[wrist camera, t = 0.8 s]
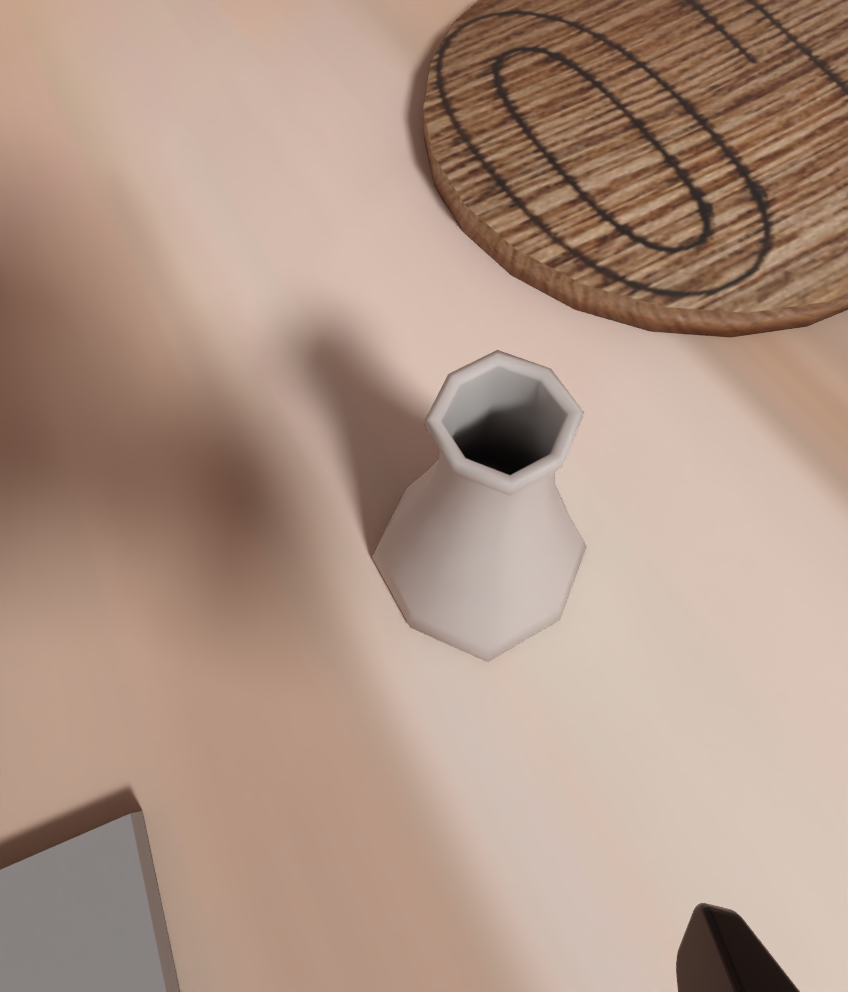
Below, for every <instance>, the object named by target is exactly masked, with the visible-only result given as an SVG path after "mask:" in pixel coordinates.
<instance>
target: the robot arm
mask: <svg viewBox="0 0 848 992" xmlns="http://www.w3.org/2000/svg"><path fill="white" fill-rule="evenodd" d="M676 974H677V985H678V992H800V991H799V990H798V989H797V987H796V986H795V985H794V984H793V982H792V981H791V980H790V978H789V977H788V976H787V975H786V973H785V972H784V971H783V969H782V968H781V967H780V966H779V964H778V963H777V962H776V961H775V959H774V958H773V957H772V955H771V954H770V953H769V952H768V950H767V949H766V948H765V946H764V945H763V944H762V943H761V941H760V940H759V939H758V938H757V936H756V935H755V934H754V932H753V931H752V930H751V929H750V927H749V926H748V925H747V923H746V922H745V921H744V920H743V919H742V917H741V916H740V915H738V914H737V913H736V912H735V911H733V910H730V909H726V908H722V907H718V906H714V905H710V904H706V903H700V904H698V905H697V906H696V907H695V909H694V911H693V913H692V916H691V919H690V921H689V924H688V926H687V929H686V931H685V934H684V937H683V939H682V942H681V944H680V947H679V950H678V954H677V962H676Z"/></svg>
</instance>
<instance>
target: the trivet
mask: <svg viewBox="0 0 848 992" xmlns="http://www.w3.org/2000/svg"><path fill="white" fill-rule="evenodd" d="M423 116H424V140H425V144H426V149H427V154H428V158H429V163H430V167H431V172H432V177H433V181H434V185H435V187H436V189H437V190H438V192H439V193H440V195H441V197H442V198H443V200H444V202H445V203H446V205H447V206H448V208H449V210H450V211H451V213H452V215H453V216H454V218H455V219H456V221H457V223H458V224H459V226H460V228H461V229H462V231H463V232H464V233H465V234H466V235H467V236H468V237H469V238H470V239H471V240H473V241H474V242H475V243H476V244H477V245H478V246H479V247H480V248H481V249H483V250H484V251H485V252H486V253H487V254H488V255H489V256H490V257H491V258H493V259H494V260H495V261H496V262H497V263H498V264H499V265H500V266H501V267H502V268H504V269H505V270H506V271H507V272H508V273H509V274H510V275H512V276H513V277H515V278H517V279H519V280H521V281H523V282H525V283H526V284H528V285H530V286H532V287H534V288H536V289H538V290H539V291H541V292H543V293H545V294H547V295H549V296H551V297H552V298H554V299H556V300H558V301H560V302H562V303H564V304H565V305H567V306H569V307H571V308H573V309H575V310H578V311H581V312H585V313H588V314H592V315H595V316H599V317H602V318H606V319H609V320H613V321H616V322H620V323H623V324H627V325H630V326H634V327H637V328H641V329H644V330H648V331H652V332H666V333H679V334H692V335H706V336H719V337H737V336H744V335H751V334H758V333H765V332H772V331H779V330H786V329H793V328H800V327H807V326H809V325H812V324H814V323H816V322H819V321H821V320H824V319H826V318H829V317H831V316H834V315H836V314H838V313H841V312H843V311H846V310H848V0H478V1H477V2H476V3H475V4H474V5H473V6H472V7H471V8H470V9H468V10H467V11H466V12H465V13H464V14H463V15H462V16H461V17H460V18H459V19H457V20H456V21H455V22H454V23H453V25H452V27H451V28H450V30H449V32H448V34H447V35H446V37H445V39H444V40H443V42H442V44H441V45H440V47H439V49H438V51H437V52H436V54H435V56H434V57H433V59H432V61H431V63H430V70H429V76H428V82H427V88H426V94H425V100H424V106H423Z"/></svg>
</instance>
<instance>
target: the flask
mask: <svg viewBox="0 0 848 992" xmlns="http://www.w3.org/2000/svg"><path fill="white" fill-rule="evenodd" d="M583 414H584V411H583V410H582V409H581V408H580V406H579V405H578V404H577V402H576V401H575V400H574V398H573V397H572V396H571V394H570V393H569V392H568V390H567V389H566V388H565V386H564V385H563V384H562V383H561V381H560V380H559V379H558V377H557V376H556V375H555V373H554V372H553V371H552V369H550V368H547V367H545V366H542V365H539V364H536V363H533V362H530V361H527V360H524V359H522V358H519V357H516V356H513V355H510V354H507V353H504V352H501V351H499V350H497V351H494V352H492V353H490V354H488V355H486V356H484V357H482V358H480V359H478V360H476V361H474V362H472V363H470V364H468V365H466V366H464V367H462V368H460V369H458V370H456V371H454V372H452V373H450V374H448V376H447V378H446V380H445V382H444V384H443V386H442V388H441V390H440V392H439V394H438V396H437V398H436V400H435V402H434V404H433V406H432V408H431V410H430V412H429V414H428V415H427V417H426V419H425V427H426V429H427V431H428V432H429V434H430V435H431V437H432V438H433V440H434V442H435V443H436V445H437V446H438V448H439V459H438V460H437V461H436V462H435V463H434V464H433V465H432V466H431V467H430V468H429V469H428V470H427V471H426V472H425V473H424V474H423V475H422V476H420V477H419V478H418V479H417V480H415V481H414V482H413V483H412V484H411V485H410V486H409V487H408V488H407V489H406V490H405V491H404V493H403V495H402V497H401V500H400V502H399V504H398V506H397V508H396V510H395V512H394V514H393V516H392V518H391V520H390V522H389V524H388V526H387V528H386V530H385V532H384V534H383V536H382V538H381V540H380V542H379V544H378V546H377V548H376V550H375V552H374V554H373V556H372V558H373V560H374V562H375V564H376V566H377V568H378V569H379V571H380V573H381V575H382V577H383V579H384V580H385V582H386V584H387V586H388V588H389V590H390V591H391V593H392V595H393V597H394V599H395V601H396V602H397V604H398V606H399V608H400V610H401V612H402V613H403V615H404V617H405V619H406V621H407V623H408V624H409V626H410V627H411V628H413V629H415V630H417V631H420V632H422V633H424V634H426V635H429V636H431V637H433V638H435V639H437V640H440V641H442V642H444V643H446V644H449V645H451V646H453V647H455V648H458V649H460V650H462V651H464V652H467V653H469V654H471V655H473V656H476V657H478V658H480V659H482V660H485V661H487V662H489V661H491V660H492V659H494V658H496V657H497V656H499V655H501V654H502V653H504V652H506V651H508V650H509V649H511V648H513V647H514V646H516V645H518V644H520V643H521V642H523V641H525V640H526V639H528V638H530V637H531V636H533V635H535V634H537V633H538V632H540V631H542V630H543V629H545V628H547V627H549V626H550V625H552V624H554V623H555V622H557V621H559V620H560V618H561V615H562V612H563V610H564V607H565V604H566V601H567V599H568V596H569V593H570V590H571V588H572V585H573V582H574V579H575V577H576V574H577V571H578V568H579V566H580V563H581V560H582V557H583V555H584V552H585V549H586V545H585V542H584V540H583V538H582V536H581V535H580V533H579V531H578V530H577V528H576V526H575V524H574V523H573V521H572V519H571V517H570V516H569V513H568V511H567V509H566V507H565V505H564V502H563V500H562V498H561V496H560V493H559V491H558V489H557V487H556V485H555V471H557V470H559V469H560V468H561V467H563V465H564V462H565V460H566V457H567V455H568V452H569V450H570V447H571V445H572V442H573V440H574V437H575V435H576V432H577V430H578V427H579V425H580V422H581V420H582V417H583Z"/></svg>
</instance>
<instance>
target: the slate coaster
mask: <svg viewBox="0 0 848 992" xmlns="http://www.w3.org/2000/svg"><path fill="white" fill-rule="evenodd" d="M0 992H180V990H179V985H178V980H177V976H176V971H175V966H174V961H173V957H172V952H171V947H170V942H169V937H168V933H167V928H166V923H165V918H164V913H163V909H162V904H161V899H160V894H159V889H158V885H157V880H156V875H155V870H154V866H153V861H152V856H151V851H150V846H149V842H148V837H147V832H146V827H145V822H144V818H143V813H142V811H140V812H135V813H130V814H128V815H125V816H123V817H121V818H118V819H116V820H114V821H112V822H109V823H107V824H105V825H102V826H100V827H98V828H95V829H93V830H91V831H88V832H86V833H84V834H82V835H79V836H77V837H75V838H72V839H70V840H68V841H65V842H63V843H61V844H59V845H56V846H54V847H52V848H49V849H47V850H45V851H42V852H40V853H38V854H35V855H33V856H31V857H29V858H26V859H24V860H22V861H19V862H17V863H15V864H12V865H10V866H8V867H5V868H3V869H1V870H0Z"/></svg>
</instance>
